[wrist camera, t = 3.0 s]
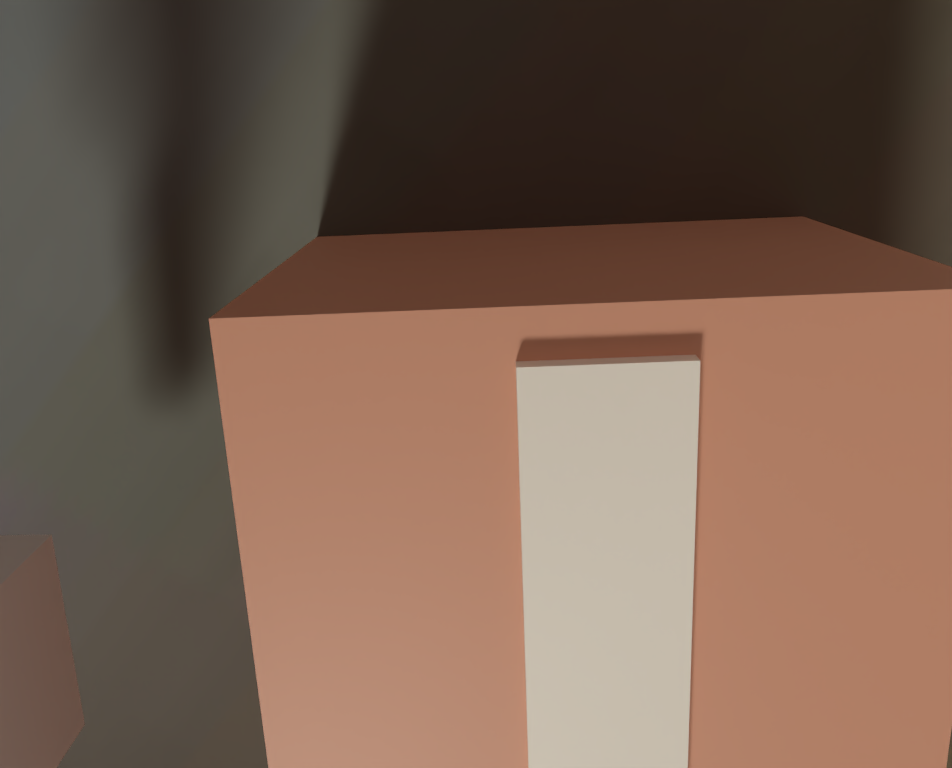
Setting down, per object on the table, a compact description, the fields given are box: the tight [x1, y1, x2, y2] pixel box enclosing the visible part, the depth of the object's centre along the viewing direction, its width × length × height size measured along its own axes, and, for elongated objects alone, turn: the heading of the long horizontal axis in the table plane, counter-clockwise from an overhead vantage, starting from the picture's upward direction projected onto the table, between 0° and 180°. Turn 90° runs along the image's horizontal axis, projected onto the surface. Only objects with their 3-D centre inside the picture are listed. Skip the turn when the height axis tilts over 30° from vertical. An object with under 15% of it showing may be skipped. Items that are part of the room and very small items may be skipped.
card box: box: [209, 216, 952, 768], centre depth 12 cm, size 9×7×6 cm
